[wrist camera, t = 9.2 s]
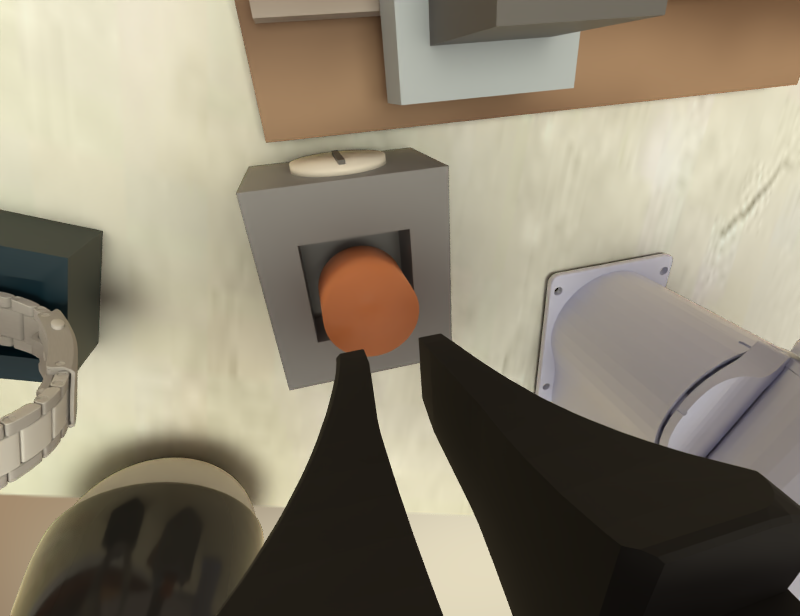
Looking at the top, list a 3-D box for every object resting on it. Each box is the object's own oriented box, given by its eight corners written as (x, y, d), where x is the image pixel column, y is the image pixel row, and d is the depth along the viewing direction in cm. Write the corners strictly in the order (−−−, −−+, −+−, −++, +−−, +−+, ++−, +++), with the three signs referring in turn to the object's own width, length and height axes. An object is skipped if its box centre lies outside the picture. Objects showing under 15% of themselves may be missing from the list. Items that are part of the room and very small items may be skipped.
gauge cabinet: (419, 304, 22) (451, 355, 18) (288, 328, 21) (289, 390, 17) (409, 136, 18) (448, 151, 14) (246, 155, 17) (232, 178, 13)
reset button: (404, 314, 17) (421, 346, 15) (325, 329, 16) (331, 365, 14) (398, 239, 15) (416, 263, 13) (310, 253, 14) (314, 280, 12)
